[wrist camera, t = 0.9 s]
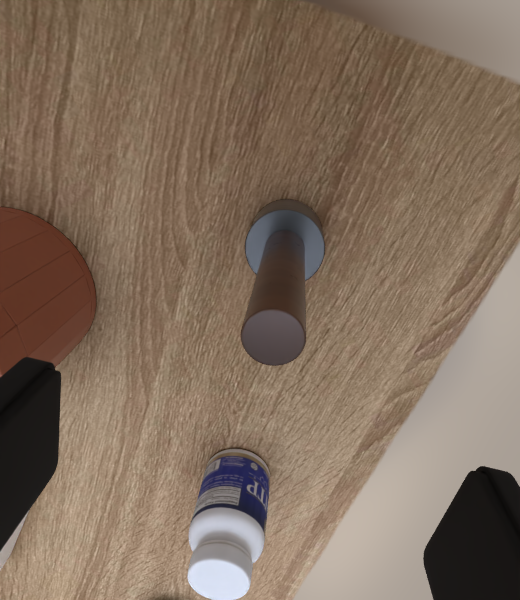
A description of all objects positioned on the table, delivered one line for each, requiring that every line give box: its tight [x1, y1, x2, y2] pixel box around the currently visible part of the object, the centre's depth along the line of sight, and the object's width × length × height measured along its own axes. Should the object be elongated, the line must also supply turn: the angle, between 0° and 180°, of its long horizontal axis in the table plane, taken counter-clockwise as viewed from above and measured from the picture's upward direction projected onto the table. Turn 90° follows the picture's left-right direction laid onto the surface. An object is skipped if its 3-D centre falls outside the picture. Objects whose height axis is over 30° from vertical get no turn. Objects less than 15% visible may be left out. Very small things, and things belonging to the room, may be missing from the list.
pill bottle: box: [188, 449, 270, 600], centre depth 30 cm, size 5×5×9 cm
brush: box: [241, 199, 325, 366], centre depth 20 cm, size 4×4×13 cm
